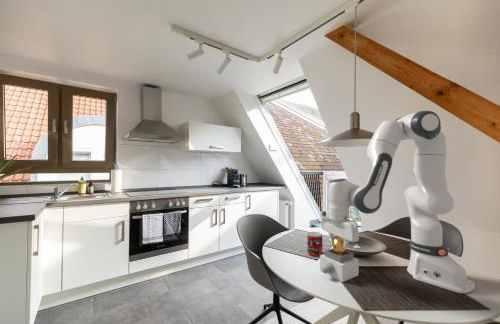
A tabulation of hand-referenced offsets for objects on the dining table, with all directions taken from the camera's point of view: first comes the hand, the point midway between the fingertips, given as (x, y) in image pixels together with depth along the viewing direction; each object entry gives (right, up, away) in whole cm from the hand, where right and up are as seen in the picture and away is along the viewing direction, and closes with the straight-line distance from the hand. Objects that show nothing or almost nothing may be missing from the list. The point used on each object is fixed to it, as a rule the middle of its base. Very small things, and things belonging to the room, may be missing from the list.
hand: (338, 245), depth 104 cm
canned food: (-5, -13, +22) cm, 25 cm away
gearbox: (-2, -12, -1) cm, 13 cm away
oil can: (-1, -5, 0) cm, 5 cm away
